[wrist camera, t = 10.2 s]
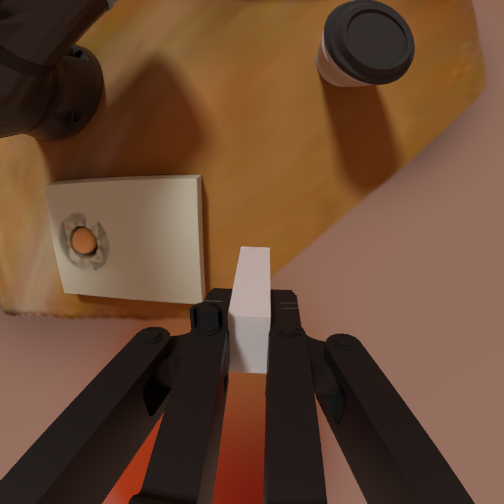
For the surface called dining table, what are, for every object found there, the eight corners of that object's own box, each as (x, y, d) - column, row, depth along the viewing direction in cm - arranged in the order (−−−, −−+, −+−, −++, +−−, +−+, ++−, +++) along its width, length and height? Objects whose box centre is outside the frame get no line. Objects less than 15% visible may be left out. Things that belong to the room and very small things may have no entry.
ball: (73, 226, 44) (68, 231, 41) (97, 223, 46) (93, 228, 42) (77, 251, 45) (72, 258, 42) (100, 248, 47) (97, 255, 43)
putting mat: (55, 181, 43) (44, 185, 40) (201, 174, 42) (196, 178, 39) (72, 284, 49) (64, 292, 47) (205, 294, 49) (202, 304, 46)
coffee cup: (294, 70, 36) (309, 42, 22) (327, 20, 33) (356, -25, 19) (354, 108, 37) (397, 101, 24) (385, 57, 34) (437, 33, 20)
